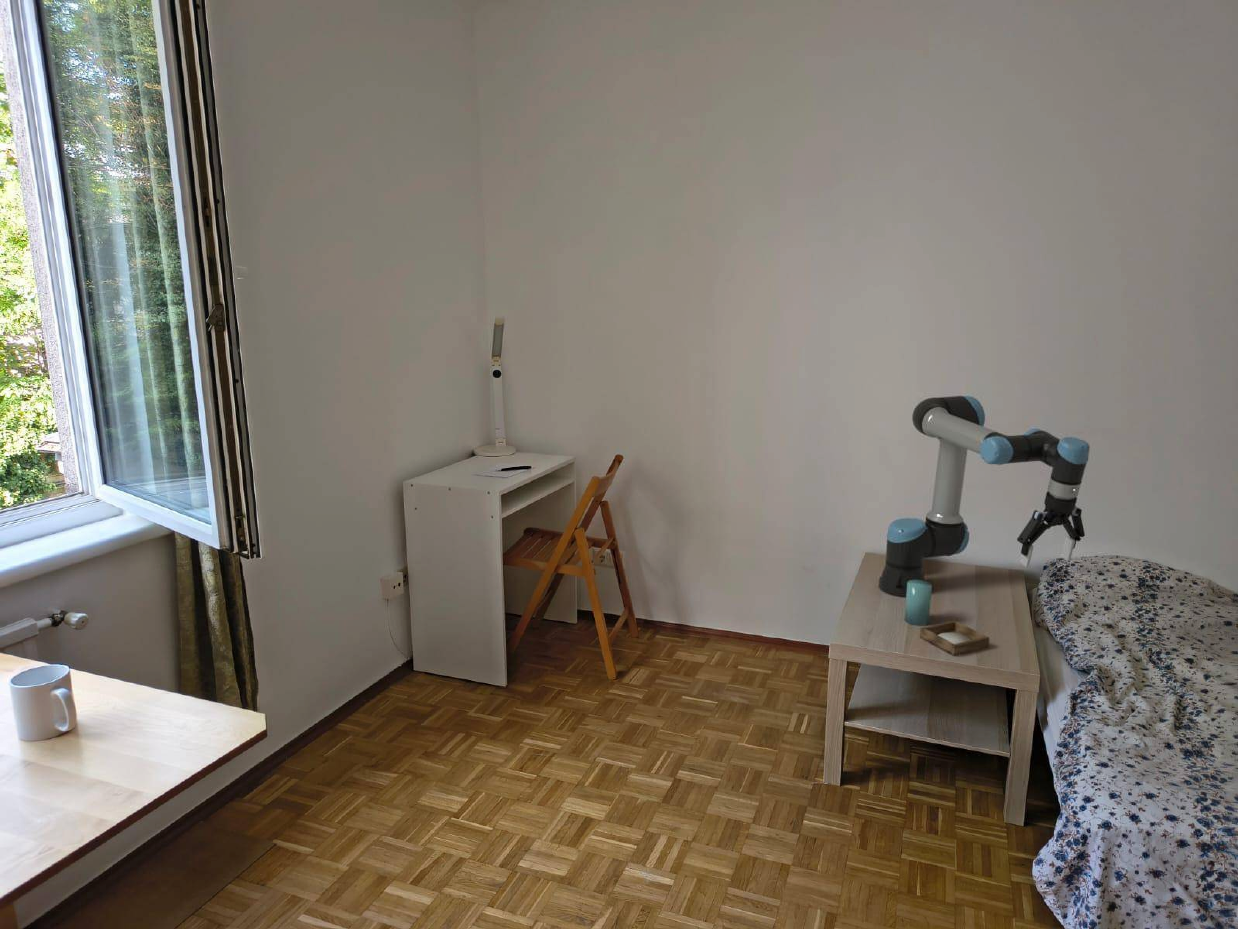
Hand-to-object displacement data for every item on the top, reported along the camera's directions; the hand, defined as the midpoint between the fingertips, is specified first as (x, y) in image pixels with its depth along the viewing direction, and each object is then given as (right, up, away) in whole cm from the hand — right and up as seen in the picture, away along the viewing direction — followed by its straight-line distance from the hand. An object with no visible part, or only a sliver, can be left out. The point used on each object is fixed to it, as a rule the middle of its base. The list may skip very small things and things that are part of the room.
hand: (1044, 561), depth 239 cm
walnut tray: (-24, -24, +5) cm, 34 cm away
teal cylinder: (-29, -20, +20) cm, 41 cm away
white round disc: (-24, -24, +5) cm, 34 cm away
